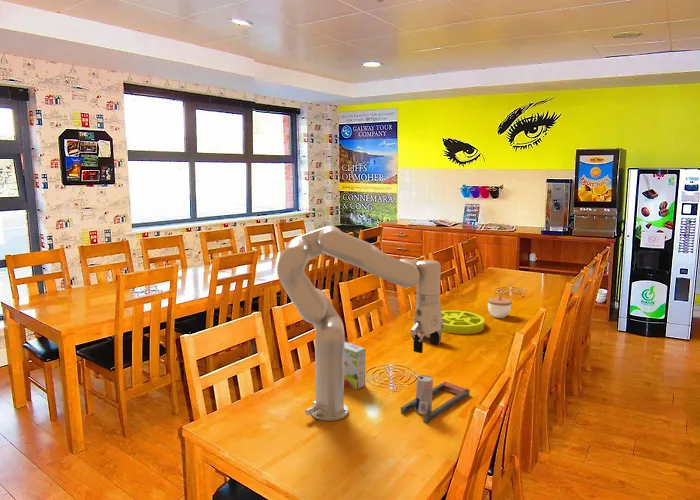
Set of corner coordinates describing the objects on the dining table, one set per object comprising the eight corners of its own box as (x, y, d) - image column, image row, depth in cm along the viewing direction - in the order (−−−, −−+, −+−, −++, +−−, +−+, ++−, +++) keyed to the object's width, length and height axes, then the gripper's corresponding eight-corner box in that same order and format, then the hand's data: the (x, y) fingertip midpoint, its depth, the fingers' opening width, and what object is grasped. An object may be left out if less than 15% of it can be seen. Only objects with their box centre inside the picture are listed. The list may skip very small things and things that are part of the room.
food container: (447, 341, 243) (448, 321, 241) (442, 345, 238) (443, 324, 236) (423, 336, 249) (424, 316, 248) (418, 340, 244) (418, 319, 243)
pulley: (418, 324, 268) (418, 315, 268) (450, 314, 287) (451, 305, 286) (463, 338, 248) (463, 328, 248) (494, 326, 267) (495, 317, 266)
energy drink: (420, 406, 178) (422, 373, 176) (434, 411, 175) (435, 377, 173) (412, 412, 174) (413, 378, 172) (426, 417, 171) (427, 383, 169)
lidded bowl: (488, 318, 279) (489, 299, 277) (485, 312, 291) (487, 293, 289) (512, 320, 277) (513, 300, 275) (509, 313, 289) (510, 294, 287)
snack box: (316, 374, 204) (316, 337, 202) (326, 370, 208) (326, 334, 206) (356, 390, 190) (356, 351, 187) (366, 385, 194) (367, 347, 192)
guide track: (426, 423, 167) (426, 417, 166) (400, 412, 173) (400, 407, 173) (469, 394, 187) (469, 389, 187) (444, 386, 194) (444, 381, 194)
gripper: (422, 305, 159) (421, 358, 162) (451, 295, 172) (449, 344, 175) (403, 301, 164) (401, 352, 167) (432, 291, 177) (430, 339, 180)
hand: (426, 348), depth 171 cm, fingers open, 9 cm apart
